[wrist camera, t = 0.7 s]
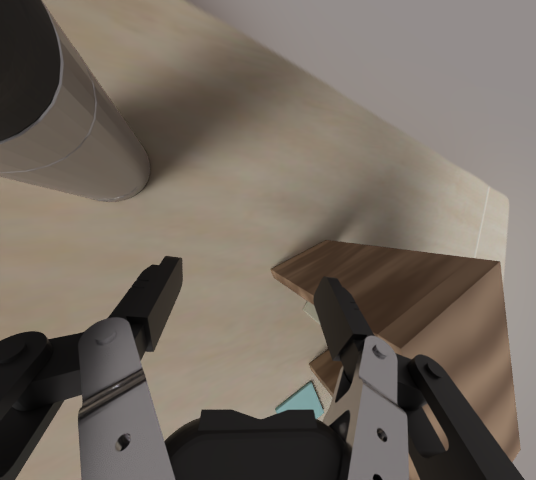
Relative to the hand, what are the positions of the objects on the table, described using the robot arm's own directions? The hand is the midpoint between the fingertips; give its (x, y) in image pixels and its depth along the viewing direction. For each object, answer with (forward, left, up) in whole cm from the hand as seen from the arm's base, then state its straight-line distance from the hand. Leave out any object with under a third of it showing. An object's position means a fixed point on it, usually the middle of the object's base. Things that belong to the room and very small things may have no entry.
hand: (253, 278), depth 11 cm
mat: (+35, +1, -19) cm, 40 cm away
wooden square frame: (+18, +12, -19) cm, 29 cm away
